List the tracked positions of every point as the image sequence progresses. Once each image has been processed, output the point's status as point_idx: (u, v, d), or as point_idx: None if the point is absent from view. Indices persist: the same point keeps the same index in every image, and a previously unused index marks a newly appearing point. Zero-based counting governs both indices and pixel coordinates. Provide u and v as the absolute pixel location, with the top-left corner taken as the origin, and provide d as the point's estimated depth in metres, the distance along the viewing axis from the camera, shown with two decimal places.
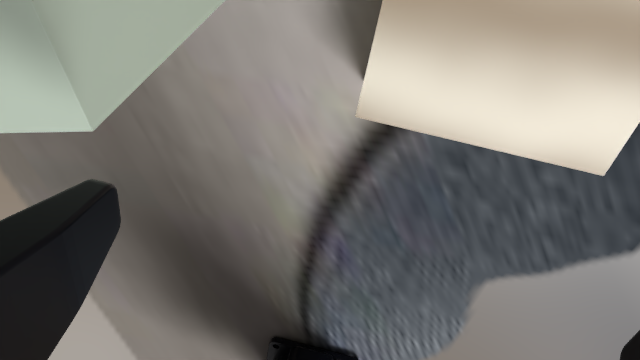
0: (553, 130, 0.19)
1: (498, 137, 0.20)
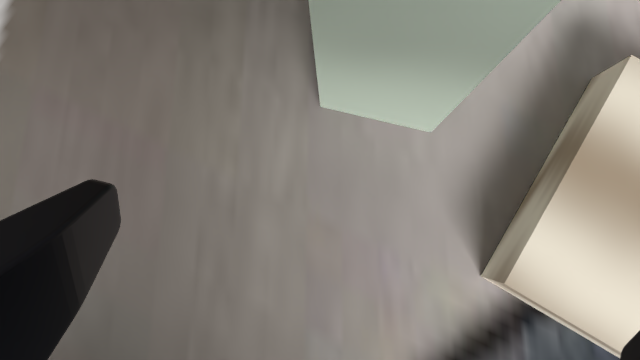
0: None
1: None
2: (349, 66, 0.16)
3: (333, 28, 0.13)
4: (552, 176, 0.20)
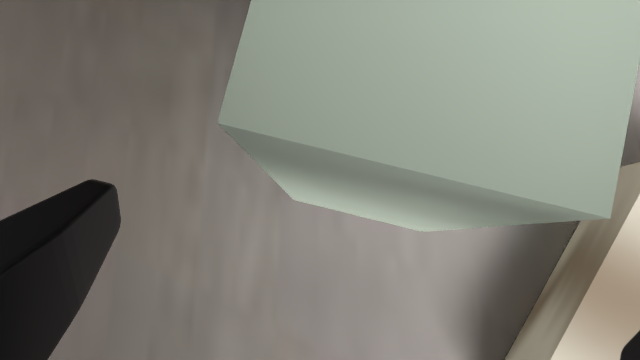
0: None
1: None
2: (318, 192, 0.13)
3: (289, 173, 0.10)
4: (565, 296, 0.17)
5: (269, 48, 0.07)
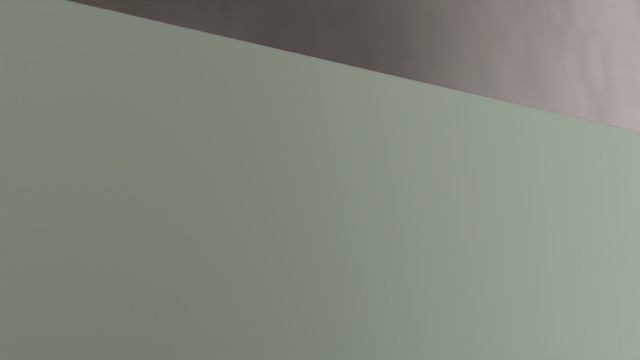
0: None
1: None
2: None
3: None
4: None
5: None
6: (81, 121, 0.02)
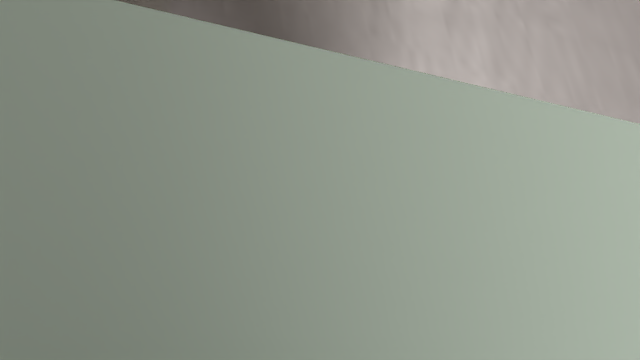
0: None
1: None
2: None
3: None
4: None
5: None
6: (94, 106, 0.02)
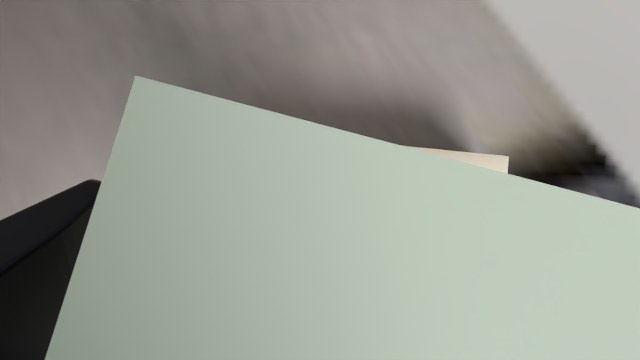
0: None
1: None
2: None
3: None
4: None
5: None
6: (201, 167, 0.04)
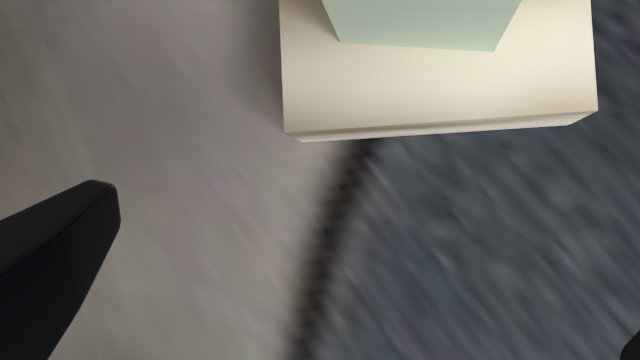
0: (506, 72, 0.16)
1: (450, 103, 0.16)
2: None
3: None
4: None
5: None
6: None
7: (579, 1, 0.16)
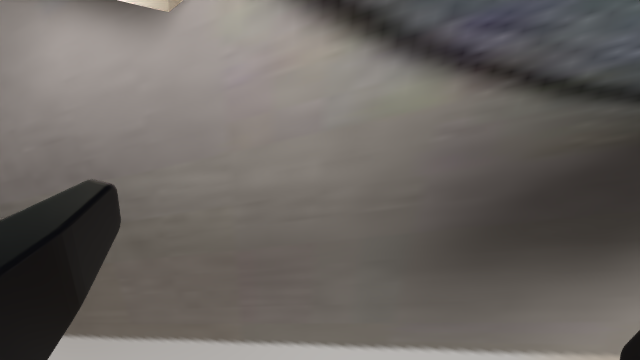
0: None
1: None
2: None
3: None
4: None
5: None
6: None
7: None
